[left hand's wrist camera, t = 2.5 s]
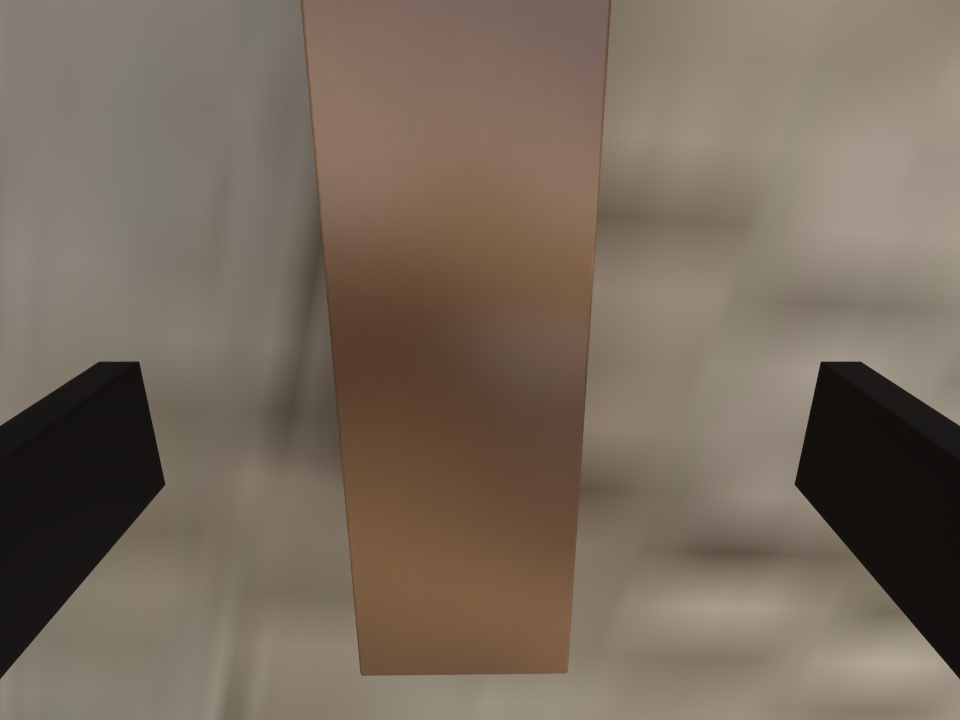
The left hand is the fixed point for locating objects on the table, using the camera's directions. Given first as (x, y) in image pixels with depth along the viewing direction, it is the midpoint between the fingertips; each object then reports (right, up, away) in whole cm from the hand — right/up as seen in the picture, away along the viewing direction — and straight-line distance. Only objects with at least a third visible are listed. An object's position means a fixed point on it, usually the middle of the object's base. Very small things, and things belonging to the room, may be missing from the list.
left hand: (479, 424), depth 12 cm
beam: (0, +36, -4) cm, 36 cm away
